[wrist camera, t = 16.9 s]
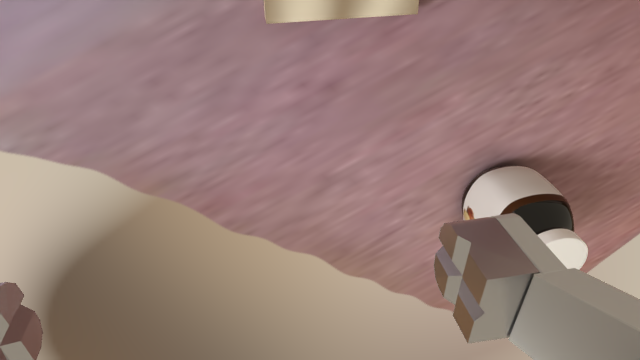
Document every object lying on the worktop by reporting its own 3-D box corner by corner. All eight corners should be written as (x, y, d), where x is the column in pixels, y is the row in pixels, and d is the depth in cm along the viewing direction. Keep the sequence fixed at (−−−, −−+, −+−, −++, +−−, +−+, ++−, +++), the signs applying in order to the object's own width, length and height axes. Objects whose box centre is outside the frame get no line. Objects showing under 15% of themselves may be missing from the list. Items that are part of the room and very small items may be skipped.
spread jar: (468, 158, 45) (530, 229, 36) (563, 149, 47) (647, 214, 37) (449, 241, 52) (497, 318, 42) (532, 230, 53) (596, 303, 44)
